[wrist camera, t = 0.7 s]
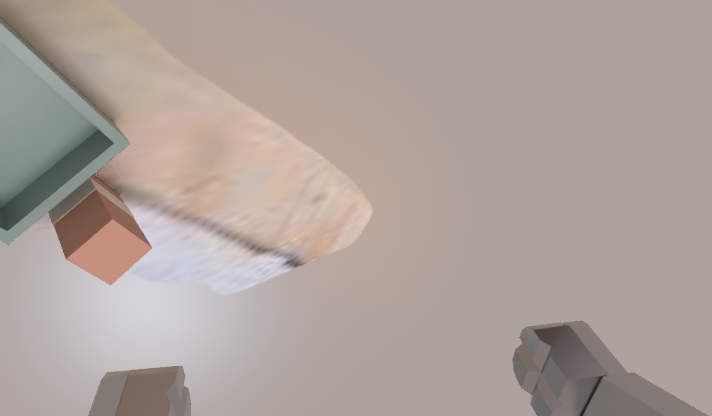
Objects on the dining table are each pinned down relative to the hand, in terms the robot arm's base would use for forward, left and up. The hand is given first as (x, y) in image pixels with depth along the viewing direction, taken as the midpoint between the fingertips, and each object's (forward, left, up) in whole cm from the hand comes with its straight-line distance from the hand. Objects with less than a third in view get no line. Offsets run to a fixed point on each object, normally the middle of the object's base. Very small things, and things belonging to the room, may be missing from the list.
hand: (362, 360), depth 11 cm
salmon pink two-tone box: (+14, -10, -45) cm, 49 cm away
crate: (+3, -9, -45) cm, 46 cm away
